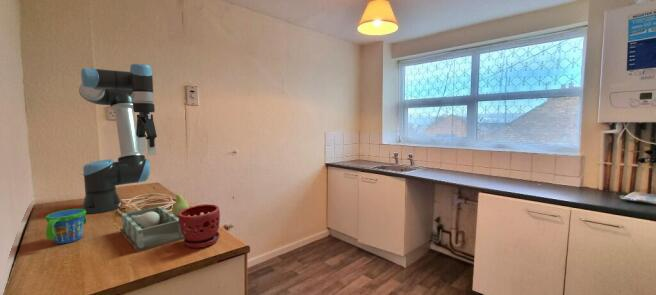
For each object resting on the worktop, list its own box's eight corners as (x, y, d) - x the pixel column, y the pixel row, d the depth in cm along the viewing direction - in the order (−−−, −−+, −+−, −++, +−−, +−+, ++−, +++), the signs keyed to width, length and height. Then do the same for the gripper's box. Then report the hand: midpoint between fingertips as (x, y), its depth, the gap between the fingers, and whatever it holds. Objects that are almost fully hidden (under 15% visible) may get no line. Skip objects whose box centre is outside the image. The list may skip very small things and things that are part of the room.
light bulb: (135, 208, 115) (164, 210, 116) (134, 224, 115) (163, 226, 116) (125, 212, 108) (155, 214, 109) (123, 229, 109) (153, 231, 109)
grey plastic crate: (120, 231, 112) (118, 214, 111) (163, 221, 123) (162, 205, 122) (137, 252, 94) (135, 231, 94) (185, 238, 105) (184, 219, 104)
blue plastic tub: (73, 231, 112) (70, 206, 111) (100, 231, 112) (98, 206, 111) (32, 250, 97) (29, 220, 96) (64, 249, 97) (61, 220, 96)
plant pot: (203, 232, 111) (202, 202, 109) (228, 239, 105) (227, 206, 103) (171, 246, 99) (169, 212, 98) (197, 254, 93) (195, 218, 92)
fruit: (191, 217, 128) (189, 190, 127) (172, 220, 124) (170, 193, 123) (188, 212, 134) (187, 187, 133) (170, 216, 130) (168, 189, 128)
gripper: (125, 103, 126) (129, 152, 128) (141, 101, 109) (145, 157, 111) (145, 104, 131) (148, 150, 134) (163, 101, 114) (166, 155, 116)
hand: (147, 153), depth 122 cm, fingers open, 13 cm apart
